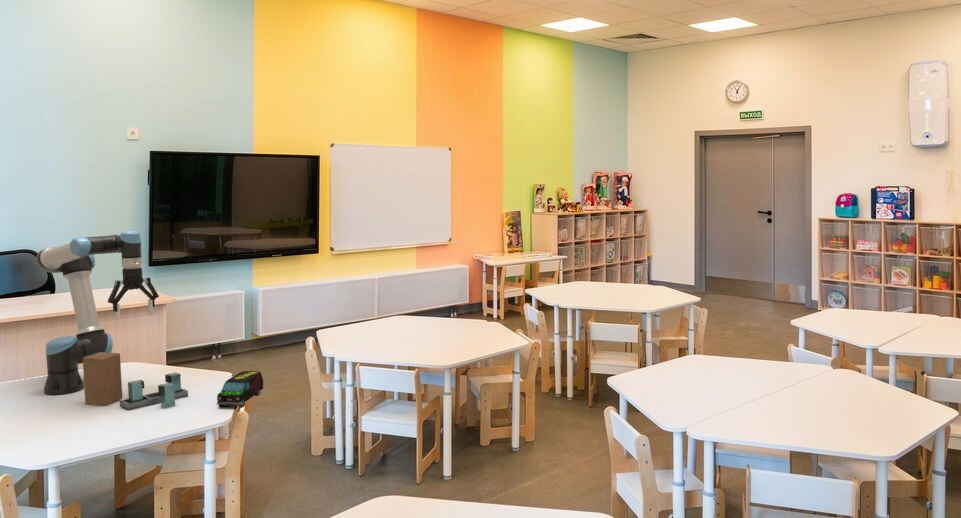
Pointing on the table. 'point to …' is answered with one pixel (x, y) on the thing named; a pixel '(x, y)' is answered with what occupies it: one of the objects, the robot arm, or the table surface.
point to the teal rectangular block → (135, 391)
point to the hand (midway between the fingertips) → (134, 316)
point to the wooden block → (102, 378)
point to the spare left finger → (167, 394)
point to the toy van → (240, 388)
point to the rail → (157, 394)
